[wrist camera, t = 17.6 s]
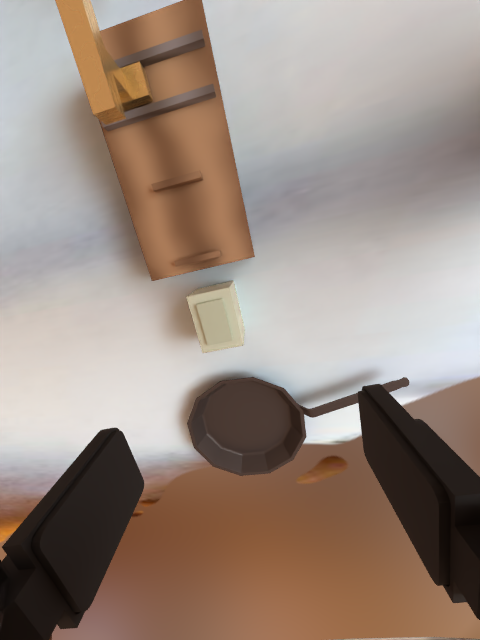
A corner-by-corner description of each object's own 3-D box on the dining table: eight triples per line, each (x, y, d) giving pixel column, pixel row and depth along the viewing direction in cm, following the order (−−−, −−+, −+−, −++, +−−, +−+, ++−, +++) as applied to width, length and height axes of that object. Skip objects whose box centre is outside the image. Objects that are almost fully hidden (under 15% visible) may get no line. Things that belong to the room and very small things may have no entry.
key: (134, 30, 21) (92, -47, 15) (162, 135, 23) (135, 100, 17) (82, 49, 21) (25, -19, 16) (114, 150, 23) (74, 120, 18)
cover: (233, 280, 32) (228, 288, 26) (245, 329, 34) (243, 346, 27) (197, 288, 32) (184, 297, 26) (211, 335, 34) (201, 355, 28)
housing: (210, 43, 25) (197, -19, 19) (254, 255, 31) (254, 257, 25) (105, 79, 26) (64, 31, 20) (167, 276, 32) (148, 282, 26)
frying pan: (171, 391, 37) (163, 407, 34) (375, 312, 32) (390, 320, 29) (220, 474, 42) (218, 495, 38) (407, 415, 36) (424, 433, 33)
